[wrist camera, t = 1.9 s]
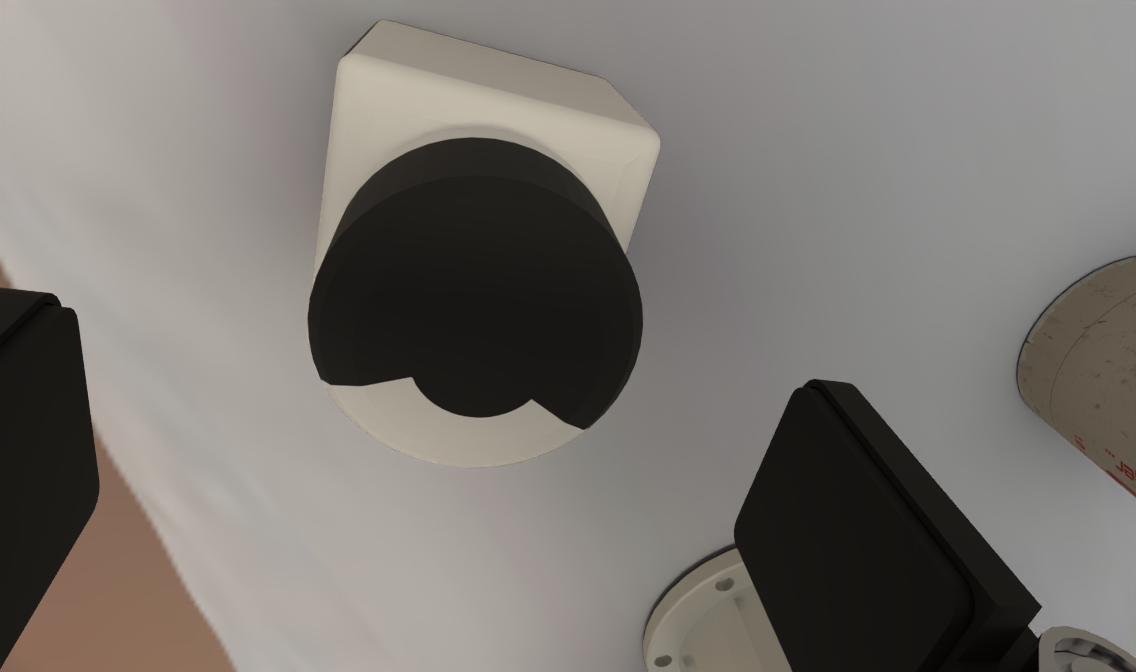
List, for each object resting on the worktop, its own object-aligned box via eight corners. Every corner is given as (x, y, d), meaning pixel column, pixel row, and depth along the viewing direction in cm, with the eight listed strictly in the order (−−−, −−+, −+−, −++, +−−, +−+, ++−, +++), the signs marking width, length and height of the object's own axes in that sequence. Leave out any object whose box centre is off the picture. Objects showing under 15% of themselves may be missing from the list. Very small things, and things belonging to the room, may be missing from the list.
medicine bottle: (375, 15, 20) (282, 101, 10) (611, 79, 22) (743, 209, 12) (344, 244, 24) (249, 490, 13) (553, 284, 25) (615, 532, 15)
